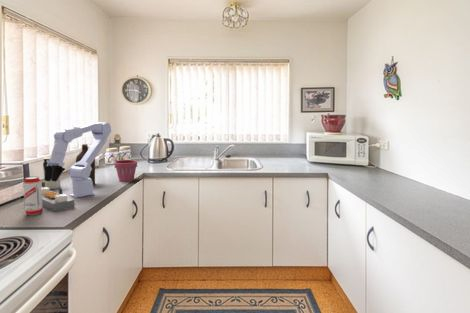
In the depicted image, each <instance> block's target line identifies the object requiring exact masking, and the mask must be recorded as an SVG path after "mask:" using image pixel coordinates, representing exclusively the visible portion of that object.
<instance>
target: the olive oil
mask: <svg viewBox="0 0 470 313" xmlns="http://www.w3.org/2000/svg"><path fill="white" fill-rule="evenodd" d="M88 145H89V144H87V143H83V144H81V151H80V152H79V154H78V155H77V156H76V158H75V163H77V162H79V161H81V159H82V158H83V156H84V155H85V154H86V152H87V151H88V149H89V146H88ZM90 166H91V168H92V170H91V172H90V176H89V177H88V178H91V179H92V182H93V186H94V185H96V158H95V159H94V161H93V162H92V164H91V165H90Z"/></svg>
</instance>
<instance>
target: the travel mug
mask: <svg viewBox="0 0 470 313" xmlns="http://www.w3.org/2000/svg"><path fill="white" fill-rule="evenodd" d="M50 157H51V156H46V157H43V163H42V165H43V166H42V167H43V180H44V181H43V182H45V187H47V188H50V190H56V189H60V188H61V175H60V176H59V178H58V180H57V181H56V182H55V181H51V180H50V181H45V170H44V166H47V163H48V162H46V161H47V160H50ZM45 187H44V188H45Z"/></svg>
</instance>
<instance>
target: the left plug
mask: <svg viewBox="0 0 470 313" xmlns="http://www.w3.org/2000/svg"><path fill="white" fill-rule="evenodd" d="M50 191H51V189H50V188H47V187H45V182H44V181H42V182H41V192H42V194H44V193H48V192H50Z"/></svg>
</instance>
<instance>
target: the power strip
mask: <svg viewBox="0 0 470 313" xmlns="http://www.w3.org/2000/svg"><path fill="white" fill-rule="evenodd" d="M50 192H54V193H57V194H59V192H55V191H53V190H50ZM60 195H61V194H60ZM42 206H43V208H46V209H48V210H49V211H52V212H54V213H55V212H59V211H63V210H68V209H72V208H76V207H75V206H76V205H75V199H73V198H71V197H68V196H67V201H63V202H56V201H55V198H50V197H47V195H45V196H44V194H42Z"/></svg>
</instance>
